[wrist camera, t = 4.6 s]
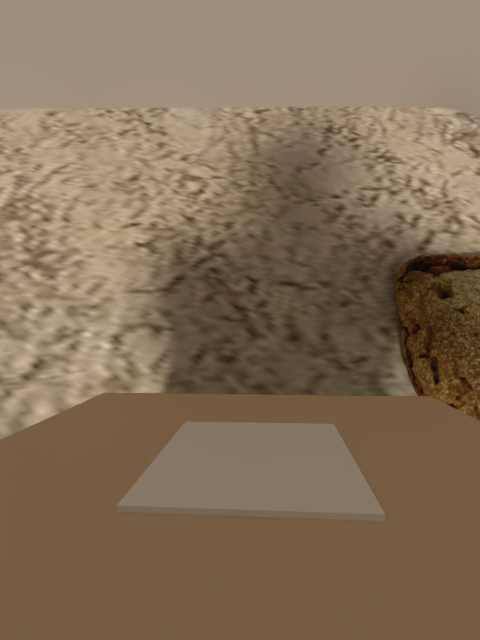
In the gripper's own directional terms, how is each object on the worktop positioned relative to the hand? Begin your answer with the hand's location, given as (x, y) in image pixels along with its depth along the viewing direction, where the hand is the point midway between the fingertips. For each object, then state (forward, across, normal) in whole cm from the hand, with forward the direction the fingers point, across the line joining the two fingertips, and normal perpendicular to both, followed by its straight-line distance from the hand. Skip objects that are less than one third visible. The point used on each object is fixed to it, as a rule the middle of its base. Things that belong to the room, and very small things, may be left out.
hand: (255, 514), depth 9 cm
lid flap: (+1, 0, 0) cm, 1 cm away
